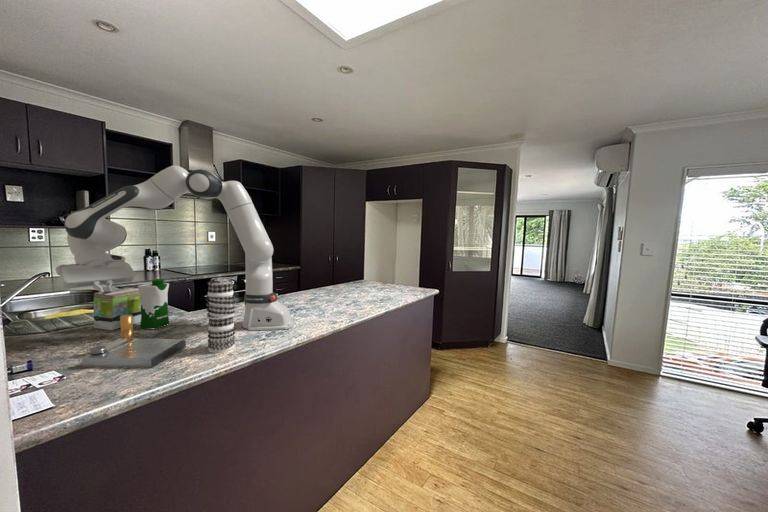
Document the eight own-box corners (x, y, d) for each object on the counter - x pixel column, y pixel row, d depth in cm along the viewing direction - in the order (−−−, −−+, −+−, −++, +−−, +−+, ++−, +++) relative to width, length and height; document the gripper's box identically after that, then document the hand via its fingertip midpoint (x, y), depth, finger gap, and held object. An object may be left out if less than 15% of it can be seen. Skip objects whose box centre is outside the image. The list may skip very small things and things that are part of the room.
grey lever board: (185, 347, 108) (185, 338, 108) (152, 368, 92) (152, 357, 92) (125, 346, 107) (125, 337, 107) (82, 367, 91) (81, 356, 91)
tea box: (113, 330, 123) (111, 294, 122) (93, 328, 125) (91, 293, 124) (148, 320, 138) (147, 288, 137) (130, 318, 140) (129, 286, 139)
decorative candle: (202, 353, 103) (200, 280, 101) (212, 343, 112) (211, 276, 110) (231, 352, 105) (230, 280, 103) (239, 342, 114) (238, 276, 112)
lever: (99, 355, 92) (97, 327, 91) (86, 355, 91) (85, 327, 91) (136, 338, 106) (135, 314, 105) (125, 338, 106) (124, 314, 105)
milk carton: (155, 330, 125) (153, 281, 124) (136, 328, 126) (134, 280, 125) (173, 323, 134) (171, 278, 132) (154, 322, 135) (153, 277, 133)
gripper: (55, 259, 103) (68, 291, 99) (129, 256, 121) (142, 283, 117) (51, 271, 105) (63, 303, 101) (124, 266, 123) (136, 293, 120)
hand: (106, 292), depth 109 cm, fingers closed
